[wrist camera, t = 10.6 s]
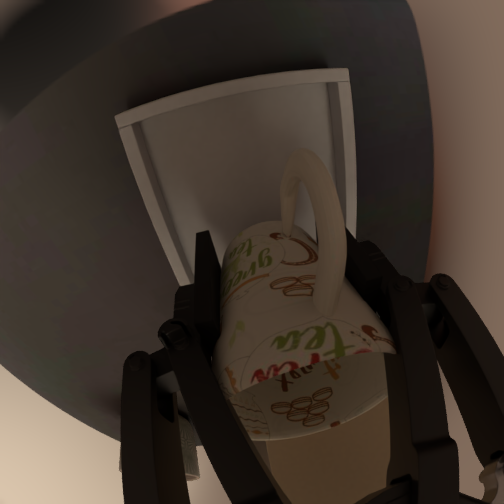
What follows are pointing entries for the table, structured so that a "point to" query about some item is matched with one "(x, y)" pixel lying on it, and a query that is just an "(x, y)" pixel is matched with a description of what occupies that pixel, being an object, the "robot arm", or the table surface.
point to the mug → (297, 320)
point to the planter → (185, 450)
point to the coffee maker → (259, 221)
